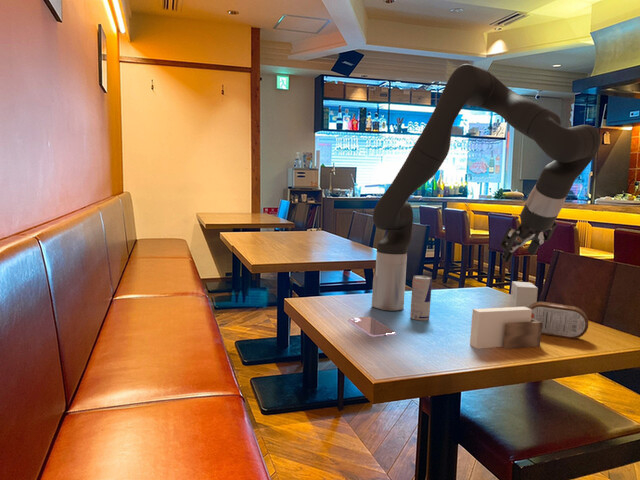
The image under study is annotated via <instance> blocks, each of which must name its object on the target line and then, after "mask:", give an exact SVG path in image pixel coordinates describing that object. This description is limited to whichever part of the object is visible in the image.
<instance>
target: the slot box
mask: <svg viewBox="0 0 640 480" xmlns="http://www.w3.org/2000/svg"><path fill="white" fill-rule="evenodd" d="M542 323H543V322H540V321H538V320H535V319H533V318H531V322H519V323H505V332H504V343H503V347H502V348H503V349H505V350H509V349H511V350H512V349H521V348H533V347H541V341H542V334H541V333H542Z"/></svg>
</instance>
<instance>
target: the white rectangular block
mask: <svg viewBox="0 0 640 480" xmlns="http://www.w3.org/2000/svg"><path fill="white" fill-rule="evenodd" d="M531 313H532V309H529V308H527V307H510V306H509V307H493V308H492V307H491V308H490V307H488V308H472V314H471V325H470V326H471V327H470V337H469V338H470V339H469V346H471V347H473V348H474V349H485V348H486V349H487V348H488V349H489V348H491V349H492V348H501V347H502V348H503V343H504V332H505V323H519V322H531Z"/></svg>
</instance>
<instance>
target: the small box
mask: <svg viewBox="0 0 640 480" xmlns="http://www.w3.org/2000/svg"><path fill="white" fill-rule="evenodd" d="M538 291H539V288H538V287H537V286H536V285H535V284H534V283H532V282H529V281H528V282H527V281H515V280H514V281H513V280H512V282H511V290H510V302H509V303H510V304H509V307H527V308H528V307H529V306H530V305H531V304H533V303H536V302H538V301H537V300H538Z"/></svg>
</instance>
